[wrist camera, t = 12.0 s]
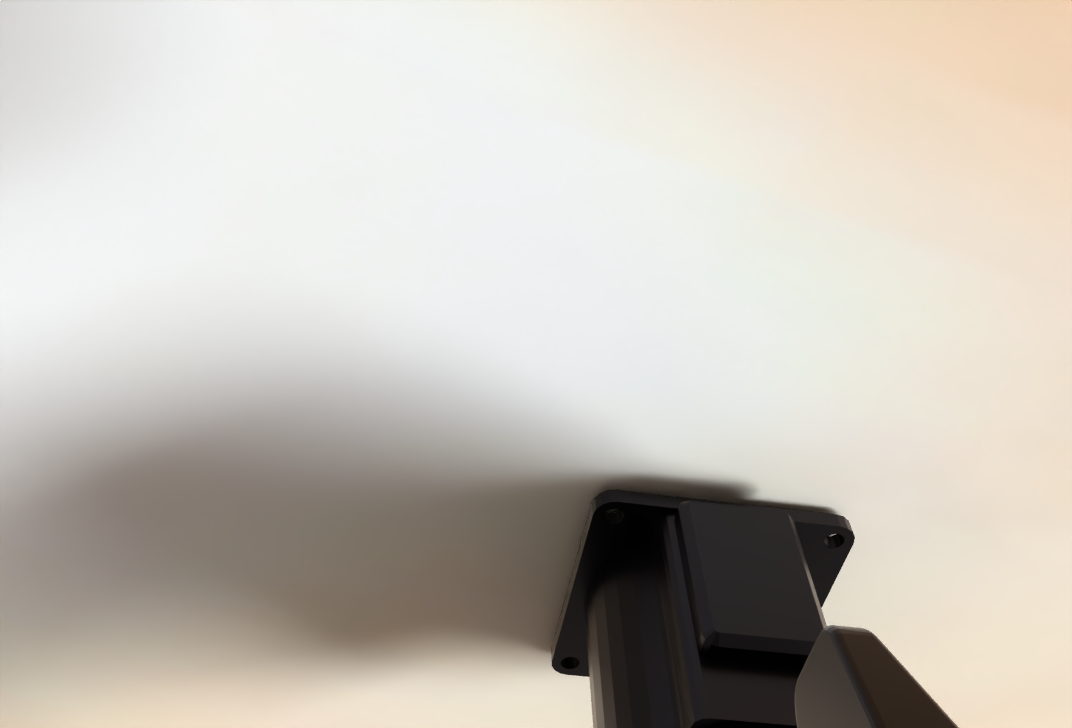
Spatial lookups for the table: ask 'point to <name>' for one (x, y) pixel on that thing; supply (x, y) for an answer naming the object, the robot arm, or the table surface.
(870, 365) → the table surface
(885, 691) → the robot arm
